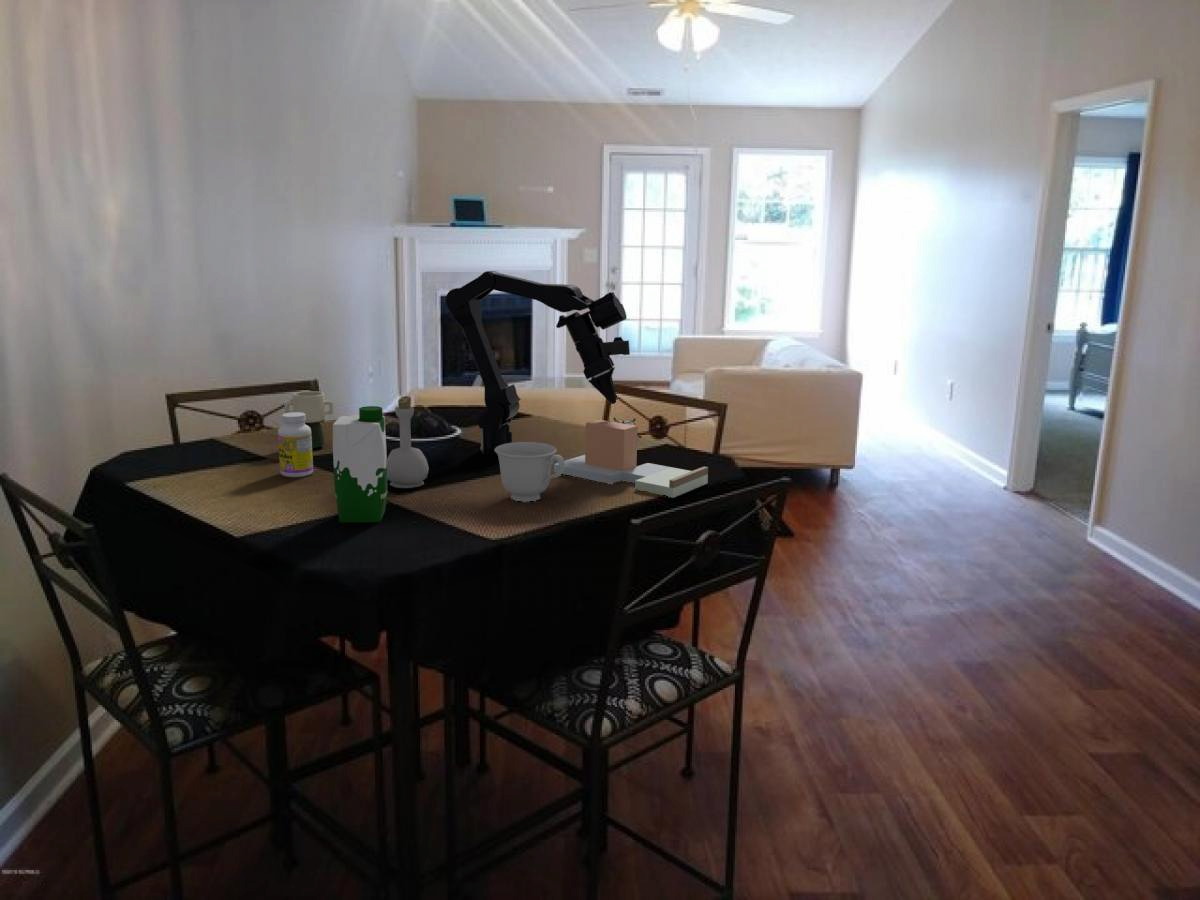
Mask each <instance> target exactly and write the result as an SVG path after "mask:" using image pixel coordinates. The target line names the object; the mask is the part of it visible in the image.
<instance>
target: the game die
mask: <svg viewBox="0 0 1200 900" xmlns="http://www.w3.org/2000/svg"><path fill="white" fill-rule="evenodd" d="M636 419H637V418H636V417H634V418H633V419H632V420H629V419H627V420H625V419H617V418H616V417H613V422H617V423H623V424H629V425H635V426H637V425H636V422H635V421H636ZM641 435H642V433H641V432H638V430H637V441H639V439H642V438H643V437H642V436H641Z"/></svg>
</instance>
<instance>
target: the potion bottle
mask: <svg viewBox="0 0 1200 900" xmlns="http://www.w3.org/2000/svg"><path fill="white" fill-rule="evenodd" d="M411 403H412V398H411V396H409V395H405V396H402V397H400V398H398V399H397V404H398V406H396V407H395V408H394V410H395V415H396V416H397V418H398V420H399V445H400V446H399V447H397V448H393V449H392V450H391V451H390V453H389V454H388V456H387V481H390V483H389V486H390V485H391V487H393V488H395V489H406V488H407V489H414V487H415V488H419V487H421V486H423V485H425V483H424V480H426V479H428V474H429V469H430V468H429V464H428V459H427V458H426V456H425V455H424V453H423V451H422V450H421V449H420V448H416V447H412V439H411V438H412V435H411V428H412V427H411V419H412V417H413V416H414V413H415V412H414V411H415V407H414V406H411V405H412V404H411Z"/></svg>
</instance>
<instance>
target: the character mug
mask: <svg viewBox="0 0 1200 900" xmlns="http://www.w3.org/2000/svg"><path fill="white" fill-rule="evenodd" d="M325 399H326V398H325V393H324V392H322V391H317V390H315V391H314V390H307V391H305V390H304V391H298V392H294V393H292V400H290V401H289V400H286V401H285V402H284V404H283V405H284V414H285V413H291V412H301V413H305V415H306V420H305V425H308V426H309V427H310V428H311V436H312V449H315V448H317V447H318V448H320V447H322V446H324V445H326V442H325V436H324V435H325V434H324V431H323V425H322V424H321V421H322V422H323V421H324V420H325V418H326V415H333V414H334V401H333V400H325ZM326 405H328V408H329V409H328V410H326ZM290 406H292V410H290Z"/></svg>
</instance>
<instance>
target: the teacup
mask: <svg viewBox="0 0 1200 900" xmlns="http://www.w3.org/2000/svg"><path fill="white" fill-rule="evenodd" d="M495 452H496V453H497V456H498V463H499V469H500V477H501V482H502V485H503V488H504V489H505V490H506V491H507V492H509V493H511V496H510V499H511V500H512V499H513V500H512V501H514V500H515V502H517V501H523V502H522V503H530V502H529V501H534V502H537V501H536V500H538V499H539V500H540V499H541V495H540V494H542V492H544V491H545V490H547V488H548V487H549V484H550V481H551V480H552V479H556V478H559V477H561V476H562V475H561V474H562V473H563V472H564V469H565V462H564V461H565V460H564V458H563V456H562V455H560V454H556V453H557V452H558V450H557V448H556V447H555V446H554V445H552V444H548V443H544V442H537V441H516V442H512V443H507V444H502V445H499V446H497V447H496V448H495ZM555 461H557V463H559V470H558V471H557V472H556V473H552V466H554V464H555ZM551 473H552V474H551ZM539 500H538V501H539ZM526 501H527V502H526Z"/></svg>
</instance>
